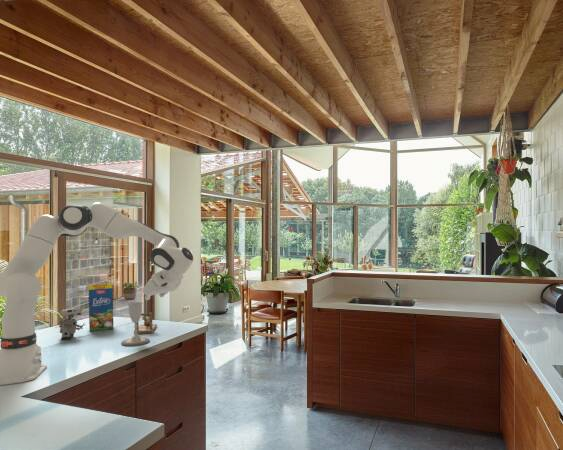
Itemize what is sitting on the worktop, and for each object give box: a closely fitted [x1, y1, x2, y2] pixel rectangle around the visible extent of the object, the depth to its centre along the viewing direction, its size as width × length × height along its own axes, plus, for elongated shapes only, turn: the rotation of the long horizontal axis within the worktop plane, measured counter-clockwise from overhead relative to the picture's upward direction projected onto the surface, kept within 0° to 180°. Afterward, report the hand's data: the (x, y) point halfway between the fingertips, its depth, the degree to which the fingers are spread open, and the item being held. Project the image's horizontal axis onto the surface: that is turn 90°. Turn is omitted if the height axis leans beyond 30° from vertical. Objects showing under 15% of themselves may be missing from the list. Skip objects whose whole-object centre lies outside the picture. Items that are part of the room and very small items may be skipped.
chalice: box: [127, 301, 143, 342], centre depth 209 cm, size 7×7×18 cm
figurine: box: [58, 306, 85, 341], centre depth 222 cm, size 9×12×15 cm
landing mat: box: [120, 337, 151, 347], centre depth 208 cm, size 13×13×1 cm
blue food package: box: [88, 282, 114, 332], centre depth 239 cm, size 6×12×25 cm, turn 117°
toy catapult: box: [133, 312, 158, 335], centre depth 234 cm, size 16×9×10 cm, turn 7°
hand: (153, 297), depth 203 cm, fingers open, 8 cm apart
